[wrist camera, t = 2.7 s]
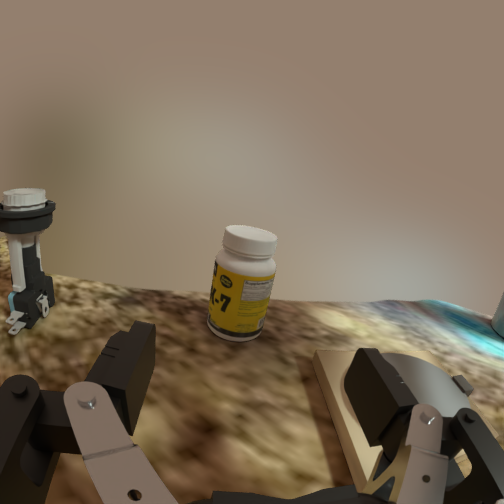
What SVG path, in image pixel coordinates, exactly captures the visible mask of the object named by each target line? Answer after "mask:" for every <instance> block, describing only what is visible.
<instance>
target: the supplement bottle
mask: <svg viewBox="0 0 504 504" xmlns="http://www.w3.org/2000/svg"><path fill="white" fill-rule="evenodd" d="M276 244H277V236H276V235H274V234H273V233H271V232H268V231H266V230H262V229H259V228H255V227H249V226H242V225H241V226H240V225H231V226H228V227H226V228H225V233H224V237H223V248H224V249H222V250H221V251H219V252H218V254H217V256H216V260H215V266H214V273H213V280H212V287H211V294H210V301H209V309H208V316H207V324H208V326H209V328H210V329H211V331H212V332H213V333H215V334H216V335H217V336H219V337H221V338H223V339H226V340H230V341H237V342H242V341H248V340H252V339H254V338H256V337H258V336H259V335H260V333H261V331H262V328H263V323H264V319H265V315H266V311H267V307H268V303H269V298H270V294H271V290H272V285H273V281H274V277H275V272H276V264H275V261H274V260H273V259H272V258H271V257H273V256H274V253H275V250H276Z"/></svg>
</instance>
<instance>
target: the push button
mask: <svg viewBox="0 0 504 504" xmlns="http://www.w3.org/2000/svg"><path fill="white" fill-rule="evenodd" d="M54 210H55V203H54V202H53V201H50V200H47V199H46V198H45V190H44V189H39V188H21V189H13V190H8V191H6V192H4V200H3V201H2V202H1V203H0V231H1V232H4V233H5V235H6V236H7V238H8V242H9V254H10V263H11V272H12V274H11V281H12V288H13V291H12V292H11V293H10V294H9V295H8V302H9V305H10V310H11V314H10V315H11V316H10V317H9V318H8V319H7V320H6V323H8V324H13V327H12V328H11V329H10V330H9V331H8V332H9V333H10V334H13V335H16V334H17V333H18V332H19V330H20V329H21V328H23V327H26V328H30V329H31V328H32V327H33V325H34V324H35V323H36V321H37V320H38V319H39V317H40V316H41V315H42V314H43V317H46V316H47V315H48V313H49V307H52V306H53V305H54V303H55V298H54V290H53V281H52V277H50V276H45V273H44V272H43V271H42V268H41V258H40V240H39V234H41V233H43V231H44V230H45V229H47V228H48V227H49V226H50V224H51V223H52V212H53V211H54ZM46 309H47V310H46ZM45 310H46V312H45ZM10 319H13V321H10ZM13 329H17V330H16V331H12V330H13Z"/></svg>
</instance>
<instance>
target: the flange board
mask: <svg viewBox="0 0 504 504" xmlns="http://www.w3.org/2000/svg"><path fill="white" fill-rule="evenodd" d="M355 353H356V351H327V350H316V351H315V354H314V357H313V359H312V365H313V367H314V370H315V373H316V376H317V378H318V381H319V384H320V387H321V390H322V392H323V395H324V398H325V401H326V404H327V406H328V409H329V412H330V415H331V418H332V420H333V423H334V426H335V429H336V432H337V435H338V438H339V441H340V443H341V446H342V449H343V452H344V455H345V458H346V461H347V464H348V467H349V470H350V473H351V476H352V479H353V482H354V484H355V487H356V490H357V492H360V493H361V492H362V491H363V490H364V488H365V487H366V485H367V482H368V480H369V477H370V475H371V473H372V470H373V467H374V465H375V462H376V460H377V457H378V454H379V452H380V451H381V450H382V449H383V448H382V446H381V445H380V446H375V447H370V446H369V444H368V442H367V439H366V437H365V435H364V433H363V430H362V428H361V426H360V423H359V421H358V419H357V417H356V414H355V412H354V410H353V408H352V405H351V403H350V401H349V399H348V396H347V394H346V392H345V390H344V378H345V375H346V373H347V371H348V369H349V367H350V364H351V362H352V360H353V358H354V356H355ZM380 354H381V355H382V356H383V358H384V359H385V360H386V361H387V362H389V363H390V364H391V365H392V366H394V367H395V369H396V370H397V372H398V373H399V374H400V376H401V377H402V379H403V380H404V383H406V385H407V386H408V387H409V389H410V390H411V392H412V393H413V395H414V396H415V398H416V399H417V401H418V402H419V404H428V405H431V406H433V407H435V408H436V409H437V410H438V411H439V412H440V414H441V415H442V417H454V416H455V414H456V413H457V412H458V410H459V409H461V408H470V409H472V410H474V411H475V412H477V413H478V414H479V416H480V417H481V418H482V420H483V421H484V423H485V424H486V425H487V427H488V428H489V430H490V431H491V433H492V434H493V436H494V437H495V439H497V438H498V436H499V435H498V434H497V432H496V431H495V430H494V428H493V427H492V426H491V424H490V423H489V422H488V420H487V419H486V418H485V416H484V415H483V414H482V413H481V411H480V410H479V409H478V407H477V406H476V405H475V404H474V402H473V401H472V400H471V399H470V397H469V395H470V394H471V392H472V391H473V387H472V386H471V385H470V384H469V383H468V382H467V380H466V379H465V378H464V377H463V376H462V375H458V376H453V377H452V376H451V375H450V373H449V372H448V371H447V370H446V369H445V368H444V366H443V365H442V364H441V363H440V362H439V361H438V360H437V358H436V357H435V356H434V355H433V354H432V353H431V352H430V351H403V352H380ZM467 458H468V457H467V455H466V453H465V452H464V450H463V449H462V450H461V451H460V452H459V453H458V454H457V455H456V456H455V457H454V459H455V461H456V463H459V462H461V461H463V460H465V459H467Z"/></svg>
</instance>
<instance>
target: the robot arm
mask: <svg viewBox="0 0 504 504" xmlns="http://www.w3.org/2000/svg"><path fill="white" fill-rule="evenodd" d="M491 325H492V327H493V329H494V330H495V331H496V332H497V333H498V334H499V335H501V336H502V337H503V338H504V293H503V295H502V298H501V300H500V303H499V305H498V307H497V310H496V312H495V314H494V317H493V319H492V321H491ZM155 337H156V327H155V324H150V323H146V322H141V321H135V322H134V324H133V325H132V327H131V329H130V331H129V332H125V331H119V332H117V333H116V334H114V335H113V336H111V337H110V339H109V340H108V342H107V344H106V345H105V347H104V349H103V350H102V352H101V355H99V357H98V358H97V360H96V362H95V363H94V365H93V367H92V369H91V370H90V372H89V374H88V375H87V377H86V379H85V381H84V382H78V383H75V384H73V385H71V386H70V387H69V388H68V389H67V390H66V391H65V392H57V391H47V390H40V388H39V385H38V383H37V382H36V381H35V380H34V379H33V378H32V377H29V376H27V375H14V376H12V377H9V378H8V379H7V380H5V382H4V383H3V384H2V386H1V387H0V504H45V500H46V496H47V493H48V490H49V486H50V483H51V480H52V477H53V474H54V471H55V468H56V465H57V462H58V459H59V456H60V453H70V454H82V455H83V460H84V463H85V465H86V468H87V470H88V472H89V474H90V477H91V479H92V481H93V483H94V485H95V487H96V489H97V491H98V493H99V495H100V497H101V499H102V501H103V503H104V504H179V503H178V502H177V501H176V500H175V498H174V497H173V496H172V494H171V493H170V492H169V490H168V489H167V487H166V486H165V485H164V483H163V482H162V480H161V479H160V478H159V476H158V475H157V473H156V472H155V470H154V469H153V467H152V466H151V464H150V462H149V461H148V459H147V458H146V456H145V455H144V453H143V451H142V450H141V449H140V447H139V446H138V445H137V444H134V443H133V442H132V440H131V439H130V437H129V435H131V436H133V434H134V430H135V427H136V424H137V420H138V417H139V414H140V410H141V407H142V404H143V401H144V398H145V395H146V392H147V388H148V385H149V382H150V379H151V376H152V373H153V370H154V365H155ZM344 390H345V392H346V394H347V396H348V399H349V401H350V403H351V405H352V408H353V410H354V412H355V414H356V417H357V419H358V421H359V423H360V426H361V428H362V430H363V433H364V435H365V437H366V439H367V442H368V444H369V446H370V447H375V446H380V445H381V446H382V448H383V449H382V450H381V451H380V452H379V454H378V457H377V460H376V462H375V465H374V467H373V470H372V473H371V475H370V477H369V480H368V482H367V485H366V487H365V488H364V490H363V491H362V492H361V493H360V492H357V490H356V487H355V484H353V485H347V486H341V487H334V488H327V489H322V490H320V491H317V492H314V493H311V494H308V495H305V496H302V497H298V498H295V499H281V498H275V497H270V496H264V495H259V494H255V493H242V492H223V491H213V493H212V497H211V499H203V500H198V501H193V502H190V503H187V504H504V451H503V449H502V448H501V446H500V445H499V443H498V442H497V440H496V439H495V437H494V436H493V434H492V433H491V431H490V430H489V428H488V427H487V425H486V424H485V423H484V421H483V420H482V418H481V417H480V416H479V414H478V413H477V412H475V411H474V410H472V409H470V408H461V409H459V410H458V412H457V413H456V414H455V416H454V417H442V415H441V414H440V412H439V411H438V410H437V409H436V408H435V407H433V406H431V405H428V404H419V402H418V401H417V399H416V398H415V396H414V395H413V393H412V392H411V390H410V389H409V387H408V386H407V385H406V383H404V380H403V379H402V377H401V376H400V374H399V373H398V372H397V370H396V369H395V367H394V366H392V365H391V364H390V363H389V362H387V361H386V360H385V359H384V358H383V356H382V355H381V354H380V352H379V351H378V349H376V348H359V349H358V350H357V351H356V353H355V356H354V358H353V360H352V362H351V364H350V367H349V369H348V371H347V373H346V375H345V378H344ZM462 449H463V450H464V452H465V453H466V455H467V457H468V459H469V460H470V462H471V464H472V470H471V473H470V474H469V475H468V476H467V477H466V478H464V476H463V474H462V472H461V470H460V468H459V466H458V465H457V463H456V461H455V459H454V457H455V456H456V455H457V454H458V453H459V452H460V451H461V450H462Z"/></svg>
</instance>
